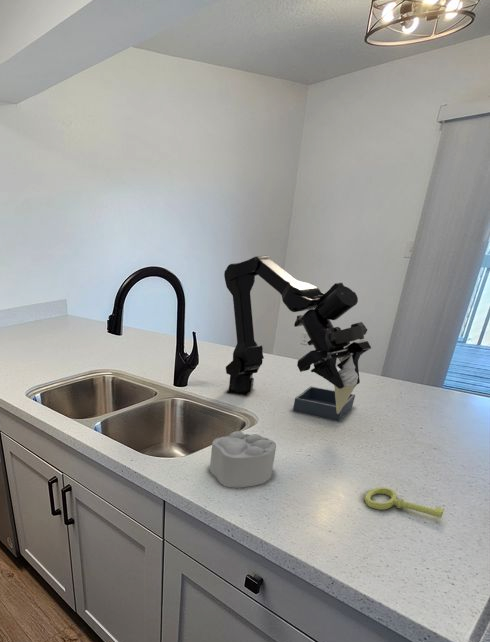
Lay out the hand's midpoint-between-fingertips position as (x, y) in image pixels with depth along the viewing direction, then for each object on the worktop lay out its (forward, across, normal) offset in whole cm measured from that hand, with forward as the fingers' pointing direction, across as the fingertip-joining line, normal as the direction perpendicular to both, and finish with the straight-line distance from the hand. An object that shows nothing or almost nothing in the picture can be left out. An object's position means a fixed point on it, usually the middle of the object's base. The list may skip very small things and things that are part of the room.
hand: (349, 385), depth 105 cm
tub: (0, +10, +19) cm, 21 cm away
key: (+28, -17, -10) cm, 34 cm away
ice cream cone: (+5, 0, +7) cm, 8 cm away
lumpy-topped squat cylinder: (+12, -34, +7) cm, 36 cm away
